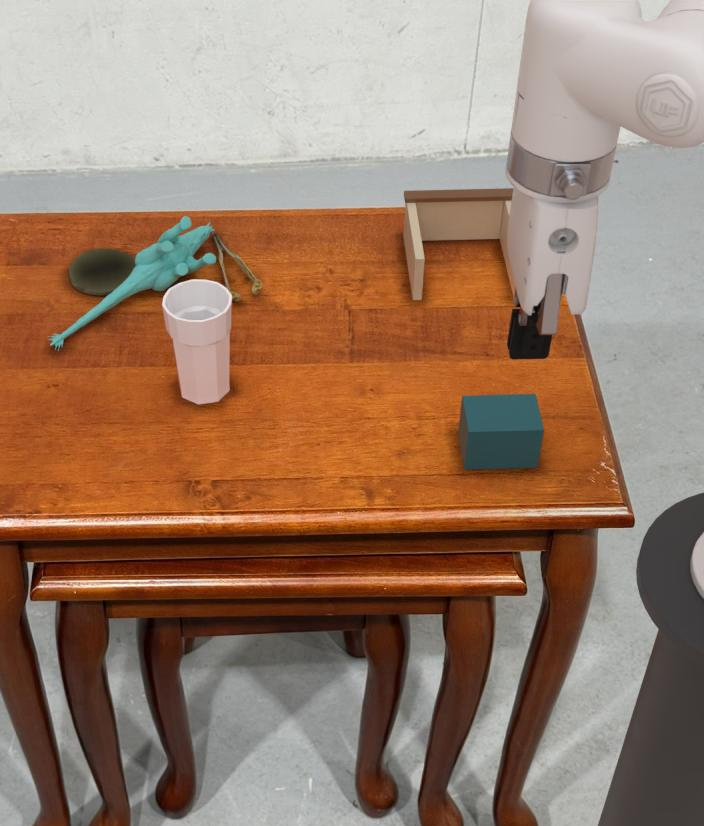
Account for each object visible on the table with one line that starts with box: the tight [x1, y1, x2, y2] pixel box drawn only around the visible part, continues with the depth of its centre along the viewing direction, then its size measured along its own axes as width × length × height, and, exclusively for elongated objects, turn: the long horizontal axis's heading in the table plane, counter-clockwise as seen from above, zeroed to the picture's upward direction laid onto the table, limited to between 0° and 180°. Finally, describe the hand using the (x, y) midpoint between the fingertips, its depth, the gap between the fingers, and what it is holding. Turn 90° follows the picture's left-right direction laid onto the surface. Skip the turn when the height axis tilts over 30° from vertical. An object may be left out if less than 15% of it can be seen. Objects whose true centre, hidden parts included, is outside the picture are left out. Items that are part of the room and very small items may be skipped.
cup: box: [161, 278, 233, 406], centre depth 126 cm, size 7×7×11 cm
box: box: [457, 393, 545, 471], centre depth 121 cm, size 5×7×5 cm
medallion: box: [68, 247, 136, 296], centre depth 143 cm, size 8×8×1 cm
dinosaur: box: [47, 215, 217, 351], centre depth 138 cm, size 6×25×8 cm
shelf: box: [402, 187, 515, 301], centre depth 142 cm, size 12×12×6 cm
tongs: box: [210, 231, 263, 303], centre depth 143 cm, size 4×13×2 cm, turn 25°
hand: (527, 352), depth 106 cm, fingers closed
